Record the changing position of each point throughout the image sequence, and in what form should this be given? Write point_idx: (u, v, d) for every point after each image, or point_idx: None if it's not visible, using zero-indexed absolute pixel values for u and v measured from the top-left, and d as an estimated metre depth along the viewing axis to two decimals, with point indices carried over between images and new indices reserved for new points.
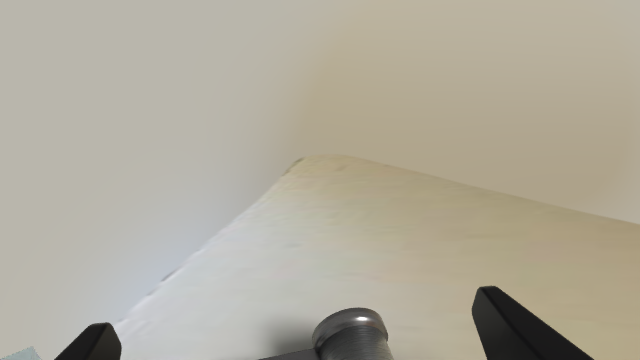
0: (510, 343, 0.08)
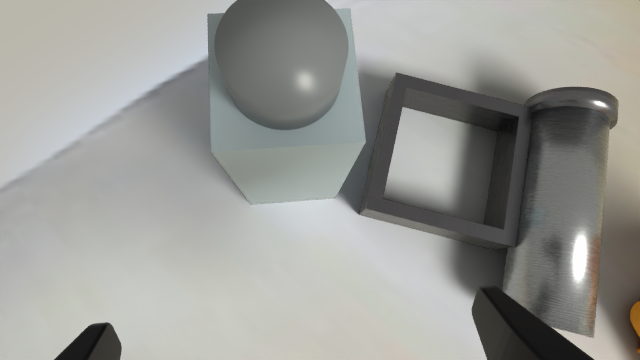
0: (510, 343, 0.08)
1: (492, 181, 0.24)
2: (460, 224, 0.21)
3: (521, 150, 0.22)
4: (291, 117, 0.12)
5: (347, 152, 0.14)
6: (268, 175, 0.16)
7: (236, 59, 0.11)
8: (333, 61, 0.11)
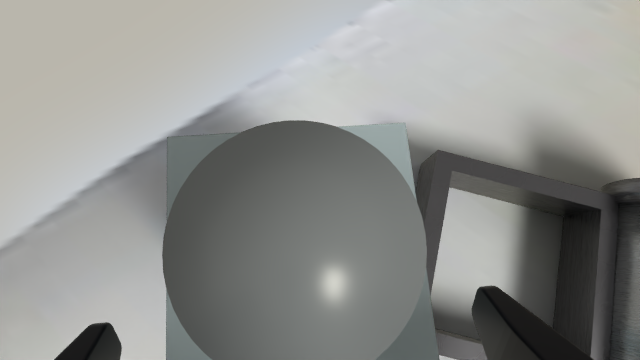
0: (510, 343, 0.08)
1: (561, 287, 0.18)
2: None
3: (606, 257, 0.17)
4: None
5: None
6: None
7: (206, 283, 0.06)
8: (399, 281, 0.06)
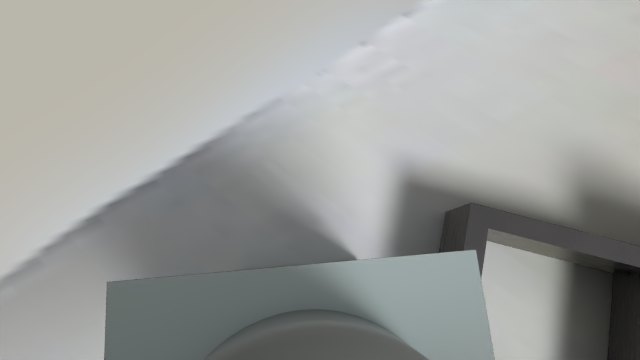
0: None
1: None
2: None
3: None
4: None
5: None
6: None
7: None
8: None
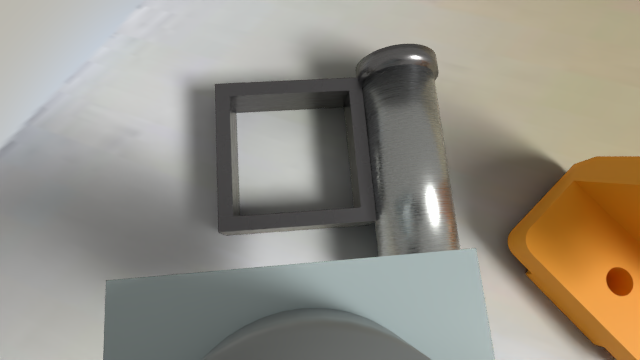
0: None
1: (349, 159, 0.24)
2: (317, 216, 0.21)
3: (359, 123, 0.22)
4: None
5: None
6: None
7: None
8: None
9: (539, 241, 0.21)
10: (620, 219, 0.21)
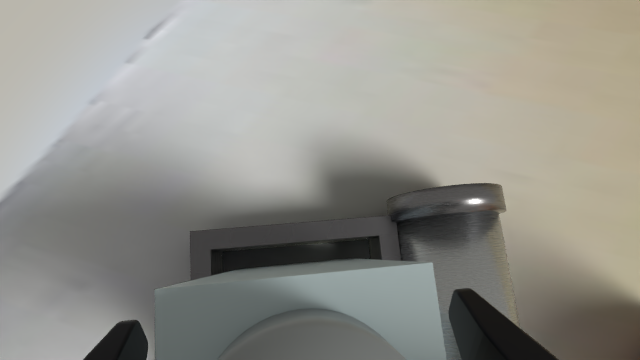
0: (482, 346, 0.08)
1: None
2: None
3: None
4: None
5: None
6: None
7: None
8: None
9: None
10: None
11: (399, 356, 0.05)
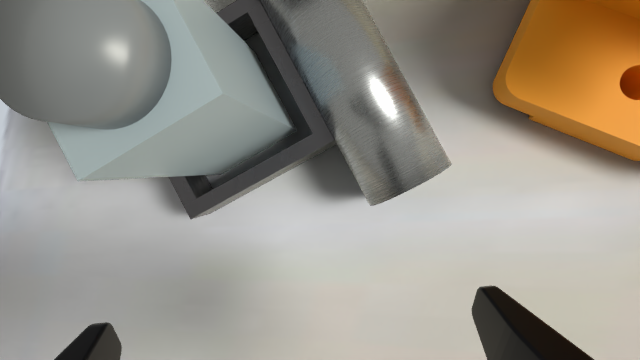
0: (510, 343, 0.08)
1: None
2: (273, 162, 0.19)
3: (273, 44, 0.19)
4: (118, 112, 0.10)
5: (223, 108, 0.12)
6: (183, 158, 0.15)
7: (14, 83, 0.09)
8: (112, 29, 0.09)
9: (523, 79, 0.17)
10: (620, 6, 0.16)
11: None
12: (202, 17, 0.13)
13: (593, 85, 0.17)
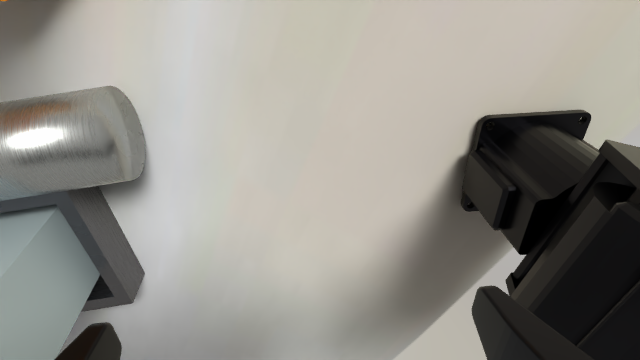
0: (510, 343, 0.08)
1: None
2: (85, 239, 0.20)
3: None
4: None
5: None
6: (35, 344, 0.18)
7: None
8: None
9: None
10: None
11: None
12: None
13: None
